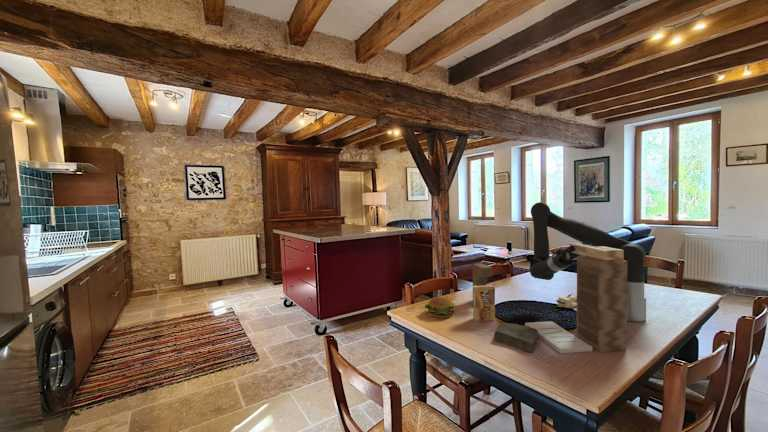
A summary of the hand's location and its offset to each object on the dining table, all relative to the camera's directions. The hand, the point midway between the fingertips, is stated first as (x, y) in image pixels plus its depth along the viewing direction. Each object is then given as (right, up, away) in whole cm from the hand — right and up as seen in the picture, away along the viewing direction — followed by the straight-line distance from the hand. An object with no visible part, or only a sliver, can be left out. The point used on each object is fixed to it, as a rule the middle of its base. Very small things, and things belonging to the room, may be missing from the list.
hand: (582, 246), depth 126 cm
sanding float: (0, -3, -5) cm, 6 cm away
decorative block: (-27, -34, +41) cm, 60 cm away
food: (-52, -35, +27) cm, 69 cm away
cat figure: (+19, -33, +34) cm, 51 cm away
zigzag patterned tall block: (+2, -35, -8) cm, 36 cm away
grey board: (-12, -35, -2) cm, 37 cm away
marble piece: (-28, -37, -3) cm, 46 cm away
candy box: (-33, -35, +19) cm, 52 cm away
